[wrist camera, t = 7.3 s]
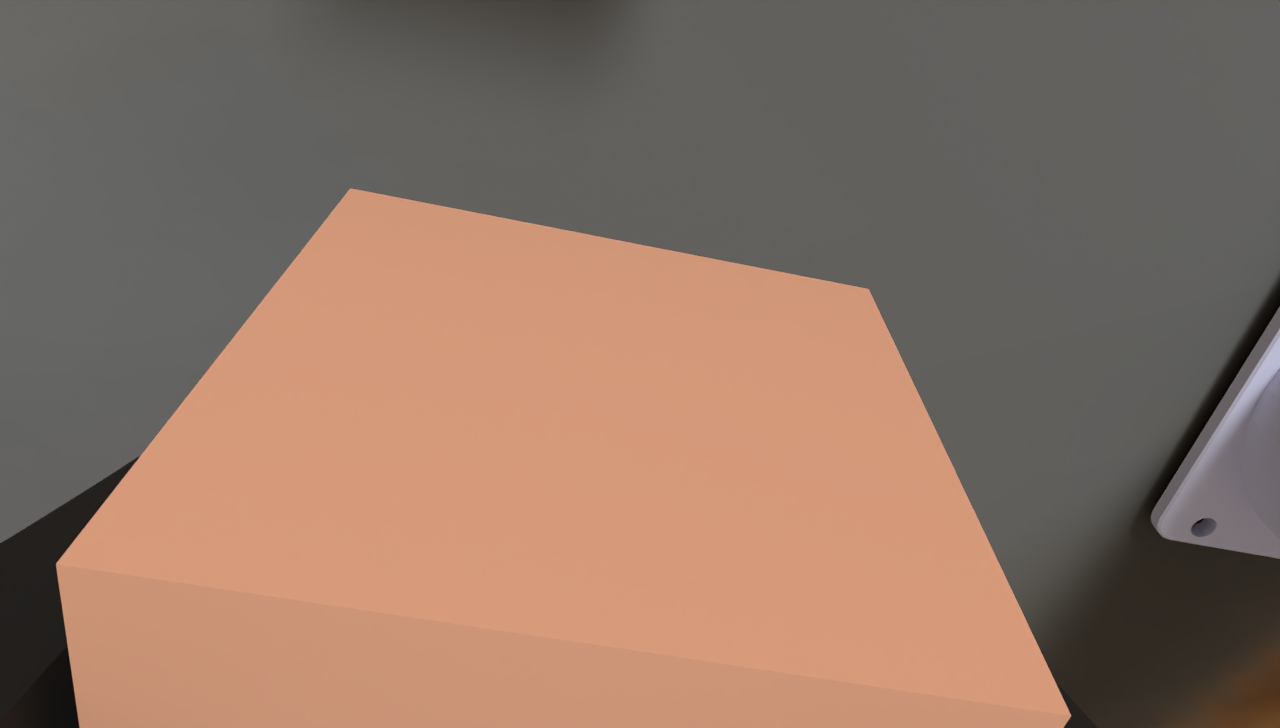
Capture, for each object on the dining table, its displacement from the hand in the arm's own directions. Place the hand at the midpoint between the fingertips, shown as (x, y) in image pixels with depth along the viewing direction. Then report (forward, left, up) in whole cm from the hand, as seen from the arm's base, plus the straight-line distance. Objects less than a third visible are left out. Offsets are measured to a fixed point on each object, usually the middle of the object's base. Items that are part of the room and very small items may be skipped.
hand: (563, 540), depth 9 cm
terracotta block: (0, 0, -2) cm, 2 cm away
